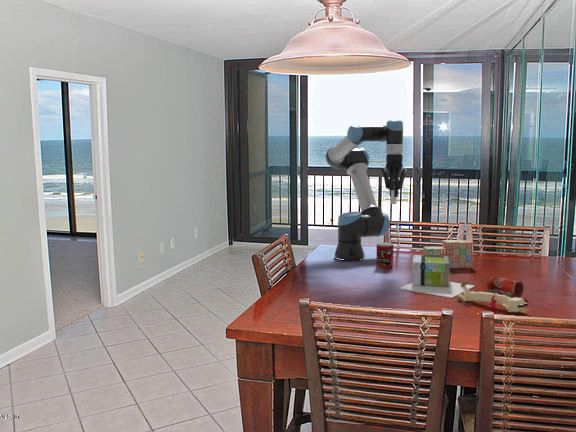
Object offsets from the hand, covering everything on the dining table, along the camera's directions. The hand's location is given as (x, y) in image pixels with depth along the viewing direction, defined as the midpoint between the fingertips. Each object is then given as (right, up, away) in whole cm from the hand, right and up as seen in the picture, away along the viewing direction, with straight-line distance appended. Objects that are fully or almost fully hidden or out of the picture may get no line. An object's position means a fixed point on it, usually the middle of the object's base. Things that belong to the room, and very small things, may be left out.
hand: (393, 203), depth 263 cm
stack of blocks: (+25, -30, -2) cm, 39 cm away
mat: (+10, -35, -41) cm, 54 cm away
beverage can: (+32, -36, -53) cm, 72 cm away
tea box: (+2, -28, -32) cm, 42 cm away
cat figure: (+22, -38, -67) cm, 80 cm away
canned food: (-4, -30, 0) cm, 30 cm away
